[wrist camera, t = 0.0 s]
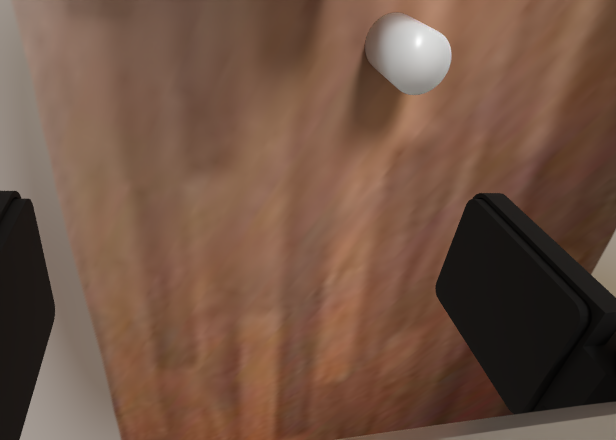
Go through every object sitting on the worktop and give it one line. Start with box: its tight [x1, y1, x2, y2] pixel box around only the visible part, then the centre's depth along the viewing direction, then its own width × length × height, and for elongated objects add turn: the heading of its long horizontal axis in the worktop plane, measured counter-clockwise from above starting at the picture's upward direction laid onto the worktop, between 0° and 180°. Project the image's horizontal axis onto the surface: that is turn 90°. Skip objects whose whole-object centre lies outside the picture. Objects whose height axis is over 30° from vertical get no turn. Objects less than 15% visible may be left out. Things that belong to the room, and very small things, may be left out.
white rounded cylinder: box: [365, 12, 451, 95], centre depth 38 cm, size 5×5×6 cm
